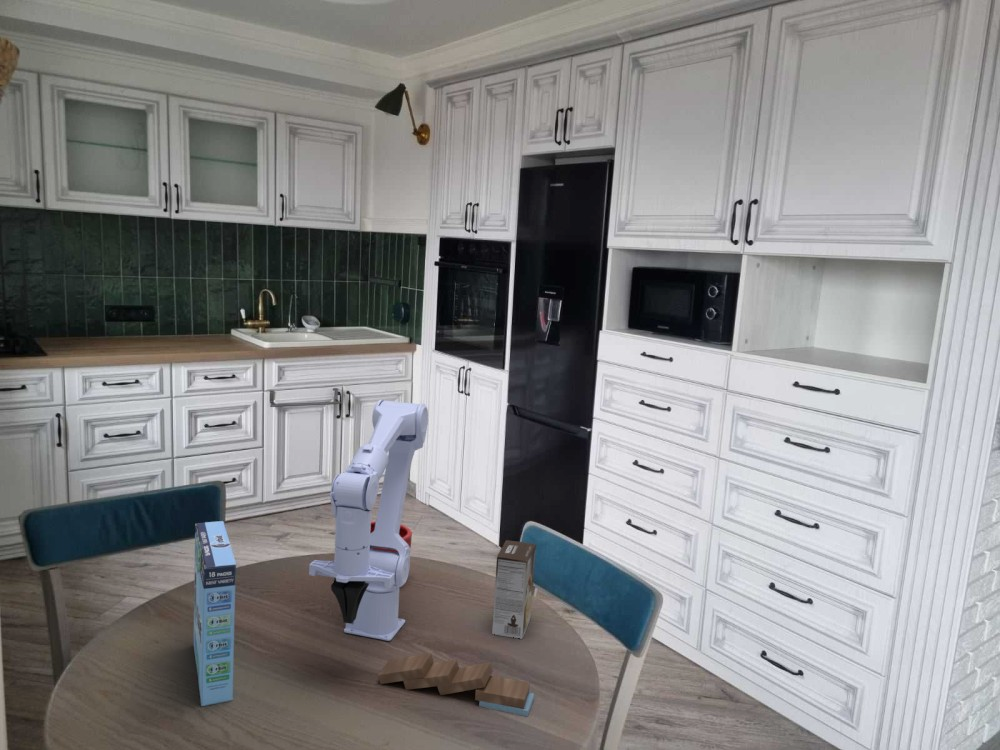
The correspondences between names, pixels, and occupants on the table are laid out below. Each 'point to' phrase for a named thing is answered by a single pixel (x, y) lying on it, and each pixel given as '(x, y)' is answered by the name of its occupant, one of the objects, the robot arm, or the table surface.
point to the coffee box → (513, 589)
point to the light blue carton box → (214, 612)
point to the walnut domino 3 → (468, 679)
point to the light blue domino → (511, 709)
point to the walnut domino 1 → (406, 668)
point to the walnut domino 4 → (504, 692)
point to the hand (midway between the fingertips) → (349, 620)
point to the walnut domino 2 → (435, 675)
